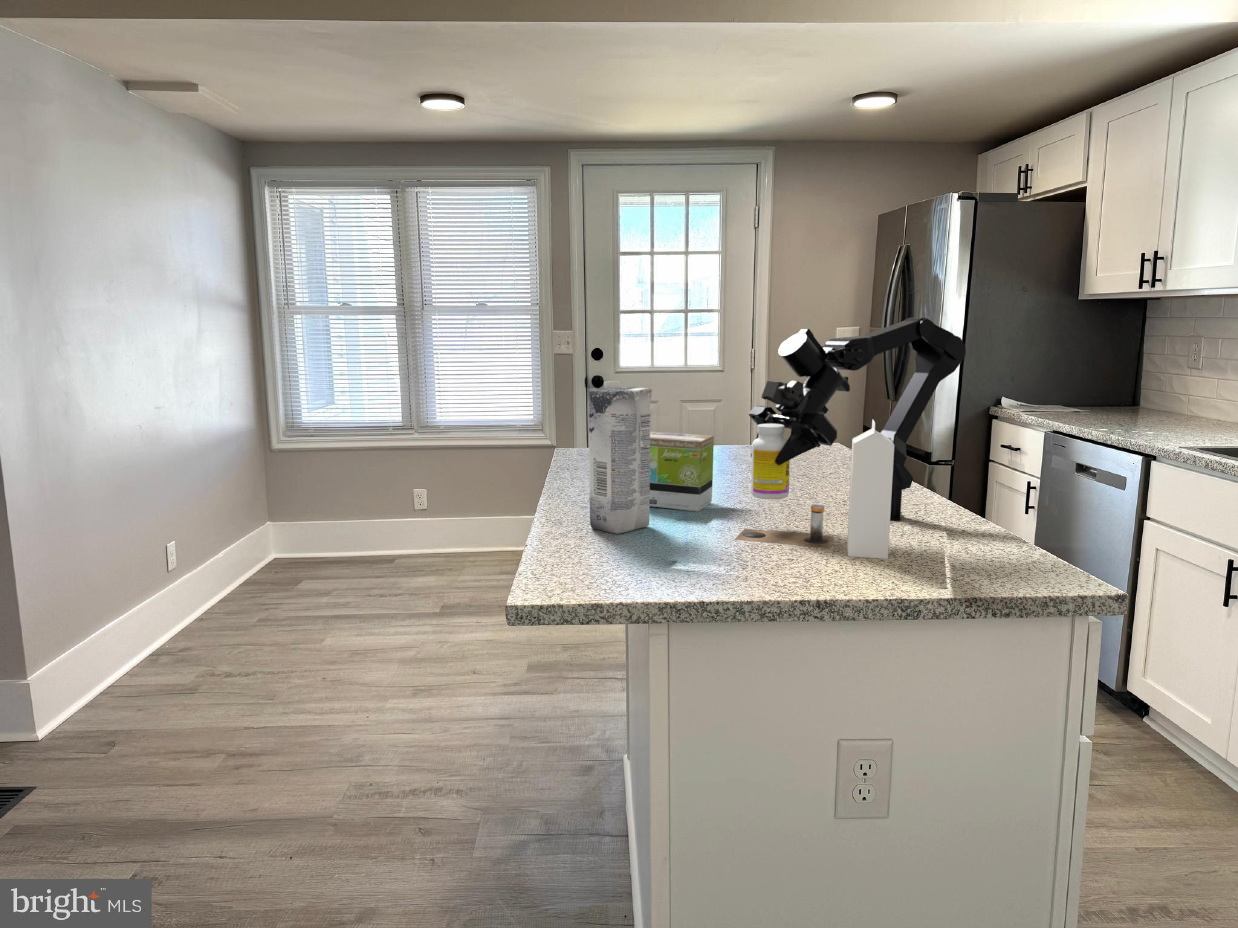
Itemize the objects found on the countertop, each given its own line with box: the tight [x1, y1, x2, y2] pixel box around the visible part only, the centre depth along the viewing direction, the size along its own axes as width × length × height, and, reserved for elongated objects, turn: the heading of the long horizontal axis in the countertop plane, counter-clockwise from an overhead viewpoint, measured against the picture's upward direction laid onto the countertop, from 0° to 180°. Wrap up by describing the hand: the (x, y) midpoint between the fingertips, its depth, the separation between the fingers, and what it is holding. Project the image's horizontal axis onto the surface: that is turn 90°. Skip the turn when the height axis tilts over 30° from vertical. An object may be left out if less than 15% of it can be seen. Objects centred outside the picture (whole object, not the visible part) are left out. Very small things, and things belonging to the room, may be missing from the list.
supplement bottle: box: [751, 424, 790, 500], centre depth 142 cm, size 7×7×13 cm
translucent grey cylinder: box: [809, 503, 825, 542], centre depth 134 cm, size 2×2×6 cm
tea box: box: [649, 431, 715, 513], centre depth 167 cm, size 15×10×15 cm, turn 68°
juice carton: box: [587, 380, 652, 535], centre depth 146 cm, size 9×10×27 cm
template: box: [734, 528, 835, 549], centre depth 137 cm, size 16×8×1 cm, turn 69°
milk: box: [846, 419, 894, 560], centre depth 126 cm, size 6×6×22 cm
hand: (764, 460), depth 142 cm, fingers closed on supplement bottle, 7 cm apart
